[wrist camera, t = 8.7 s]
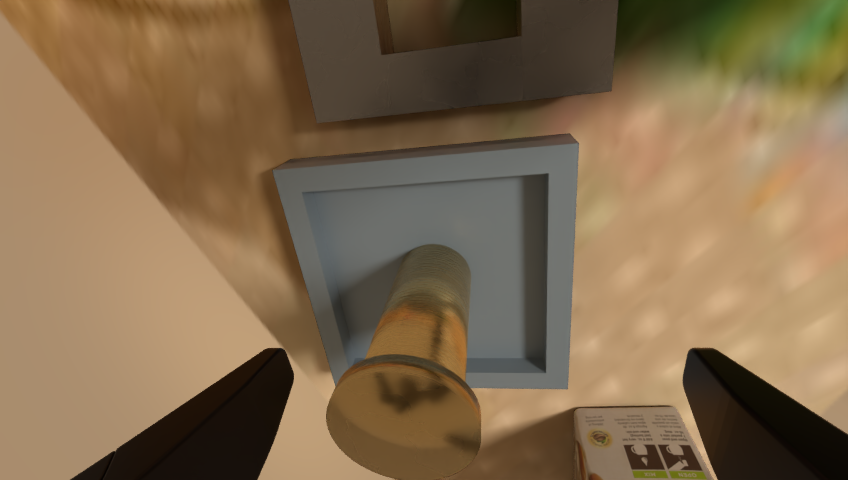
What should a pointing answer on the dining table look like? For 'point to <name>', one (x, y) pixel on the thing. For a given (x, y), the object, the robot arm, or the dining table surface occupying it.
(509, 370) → the tray
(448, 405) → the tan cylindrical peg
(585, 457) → the coffee box
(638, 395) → the dining table surface
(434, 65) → the block
